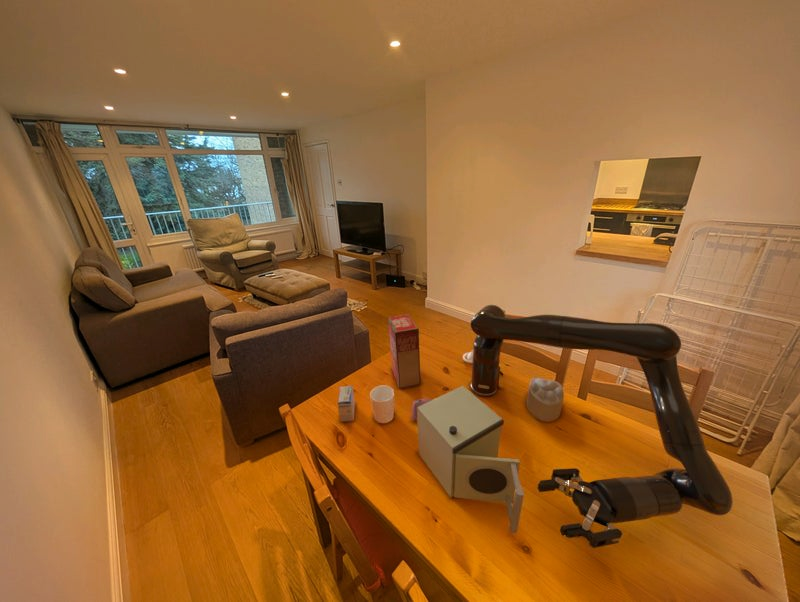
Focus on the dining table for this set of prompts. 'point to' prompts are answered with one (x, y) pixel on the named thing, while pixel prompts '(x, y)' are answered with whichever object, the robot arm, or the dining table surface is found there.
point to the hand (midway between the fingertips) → (549, 507)
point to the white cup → (382, 403)
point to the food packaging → (405, 350)
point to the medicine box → (346, 403)
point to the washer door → (490, 482)
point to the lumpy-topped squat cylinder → (545, 399)
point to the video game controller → (417, 404)
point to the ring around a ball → (468, 357)
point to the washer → (456, 433)
